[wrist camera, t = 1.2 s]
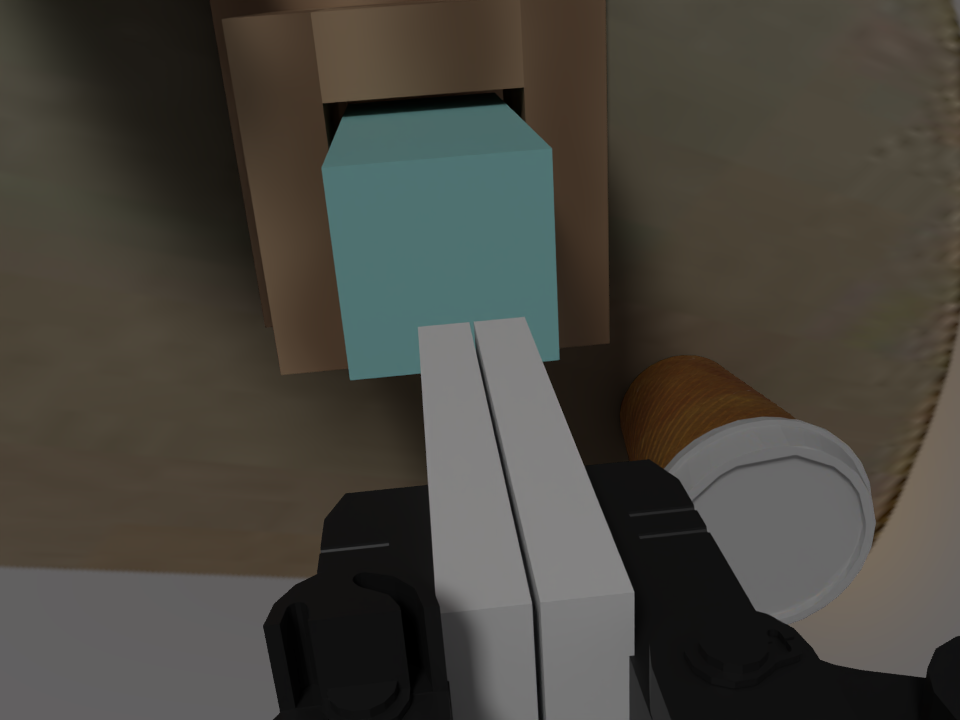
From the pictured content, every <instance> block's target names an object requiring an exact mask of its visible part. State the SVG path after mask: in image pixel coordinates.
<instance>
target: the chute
mask: <svg viewBox="0 0 960 720" xmlns="http://www.w3.org/2000/svg"><path fill="white" fill-rule="evenodd" d="M209 1H210V7H211V13H212V18H213V24H214V30H215V36H216V42H217V48H218V53H219V59H220V65H221V71H222V77H223V83H224V89H225V94H226V100H227V106H228V112H229V118H230V124H231V130H232V135H233V141H234V147H235V153H236V159H237V165H238V170H239V176H240V182H241V188H242V194H243V200H244V206H245V211H246V217H247V223H248V229H249V235H250V241H251V247H252V252H253V258H254V264H255V270H256V276H257V282H258V287H259V293H260V299H261V305H262V311H263V317H264V323H265V327H273V329H274V335H275V341H276V347H277V353H278V359H279V365H280V371H281V375H287V374H298V373H308V372H318V371H329V370H339V369H349V368H348V361H347V354H346V346H345V339H344V331H343V324H342V317H341V309H340V302H339V294H338V287H337V280H336V272H335V265H334V257H333V250H332V243H331V235H330V228H329V220H328V213H327V206H326V198H325V191H324V183H323V176H322V168H321V167H322V165H323V163H324V160H325V158H326V155H327V153H328V151H329V148H330V146H331V143H332V141H333V139H334V136H335V134H336V131H337V129H338V127H339V124H340V122H341V120H342V117H343V115H344V112H345V110H346V108H347V105H348V104H355V103H367V102H380V101H393V100H405V99H418V98H430V97H443V96H456V95H468V94H481V93H493V92H495V93H496V94H497V95H498V96H499V97H500V98H501V99H502V100H503V101H504V102H505V103H506V104H507V105H508V106H509V107H510V108H511V109H512V110H513V111H514V112H515V113H516V114H517V115H518V116H519V117H520V118H521V119H522V120H523V121H524V122H525V123H526V124H528V125H529V126H530V127H531V128H532V129H533V130H534V131H535V132H536V133H537V134H538V135H539V136H540V137H541V138H542V139H543V140H544V141H545V142H546V143H547V144H548V145H549V146H550V147H551V148H552V160H553V188H554V217H555V245H556V274H557V302H558V330H559V348H568V347H578V346H588V345H599V344H609V343H610V329H609V242H608V155H607V68H606V0H209Z"/></svg>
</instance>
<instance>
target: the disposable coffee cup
mask: <svg viewBox="0 0 960 720" xmlns="http://www.w3.org/2000/svg"><path fill="white" fill-rule="evenodd" d="M620 423H621V429H622V433H623V436H624V440H625V445H626V449H627V453H628V457H629V461H636V460H646V459H650V460H651V461H653V462H654V463H656V464H657V465H659V466H660V467H662V468H663V469H665V470H666V471H668V472H669V473H671V474H672V475H673V476H675V477H676V478H678V479H679V480H680V482H681V483H682V485H683V487H684V489H685V490H686V492H687V494H688V495H689V497H690V499H691V500H692V502H693V504H694V509H695V510H697V511H698V512H699V514H700V516H701V518H702V519H703V521H704V523H705V524H706V526H707V532H710V533H711V535H712V536H713V538H714V540H715V542H716V543H717V545H718V547H719V548H720V550H721V552H722V554H723V555H724V557H725V559H726V560H727V562H728V564H729V566H730V567H731V569H732V571H733V572H734V574H735V576H736V578H737V579H738V581H739V583H740V584H741V586H742V588H743V590H744V591H745V593H746V595H747V596H748V598H749V600H750V602H751V603H752V605H753V607H754V608H755V610H756V611H759V612H763V613H766V614H769V615H771V616H772V617H774V618H776V619H778V620H780V621H781V622H783V623H785V624H787V625H788V624H791V623H793V622H796V621H799V620H802V619H804V618H806V617H808V616H809V615H811V614H813V613H815V612H816V611H818V610H820V609H822V608H823V607H825V606H826V605H827V604H829V603H830V602H831V601H833V600H834V599H835V598H837V597H838V596H839V595H840V594H841V593H842V592H843V591H844V590H845V589H846V588H847V587H848V586H849V585H850V583H851V582H852V581H853V579H854V578H855V576H856V575H857V574H858V573H859V571H860V570H861V568H862V566H863V564H864V562H865V560H866V558H867V555H868V553H869V551H870V549H871V546H872V540H873V535H874V529H875V523H876V521H875V515H874V509H873V503H872V497H871V490H870V482H869V480H868V477H867V475H866V472H865V470H864V467H863V465H862V463H861V461H860V460H859V459H858V457H857V456H856V455H855V454H854V452H853V451H852V450H851V448H850V447H849V446H848V445H847V444H845V443H844V442H843V441H841V440H840V439H839V438H837V437H836V436H834V435H833V434H832V433H830V432H829V431H827V430H826V429H824V428H821V427H818V426H815V425H812V424H809V423H806V422H803V421H800V420H797V419H796V418H794V417H793V416H791V415H790V414H789V413H787V412H786V411H784V410H783V409H782V408H780V407H778V406H777V405H776V404H775V403H773V402H771V401H770V400H769V399H767V398H765V397H764V396H763V395H762V394H760V393H759V392H757V391H756V390H754V389H753V388H752V387H750V386H749V385H747V384H746V383H745V382H743V381H741V380H740V379H739V378H737V377H735V376H734V375H733V374H731V373H730V372H729V371H727V370H725V369H724V368H723V367H722V366H720V365H719V364H717V363H716V362H714V361H712V360H710V359H707V358H703V357H699V356H687V355H681V356H674V357H670V358H667V359H664V360H661V361H659V362H657V363H655V364H653V365H651V366H650V367H648V368H647V369H646V370H644V371H643V372H642V373H641V374H639V376H638V377H637V378H636V379H635V380H634V381H633V382H632V383H631V385H630V387H629V389H628V390H627V392H626V394H625V396H624V399H623V401H622V404H621V410H620Z"/></svg>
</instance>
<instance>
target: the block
mask: <svg viewBox="0 0 960 720" xmlns="http://www.w3.org/2000/svg"><path fill="white" fill-rule="evenodd" d="M321 168H322V176H323V183H324V191H325V198H326V206H327V213H328V220H329V228H330V235H331V243H332V250H333V257H334V265H335V272H336V280H337V287H338V294H339V302H340V309H341V317H342V324H343V331H344V339H345V346H346V354H347V361H348V368H349V376H350V380H358V379H369V378H379V377H389V376H400V375H410V374H420V373H421V367H420V352H419V337H418V327H422V326H432V325H443V324H454V323H465V322H469V324H470V328H471V333H472V337H473V341H474V346H475V333H474V322H475V321H486V320H497V319H507V318H518V317H525V319H526V322H527V324H528V327H529V329H530V332H531V334H532V337H533V339H534V342H535V344H536V347H537V349H538V352H539V354H540V357H541V359H542V362H544V361H554V360H560V359H559V330H558V302H557V274H556V245H555V217H554V188H553V160H552V148H551V147H550V146H549V145H548V144H547V143H546V142H545V141H544V140H543V139H542V138H541V137H540V136H539V135H538V134H537V133H536V132H535V131H534V130H533V129H532V128H531V127H530V126H529V125H528V124H526V123H525V122H524V121H523V120H522V119H521V118H520V117H519V116H518V115H517V114H516V113H515V112H514V111H513V110H512V109H511V108H510V107H509V106H508V105H507V104H506V103H505V102H504V101H503V100H502V99H501V98H500V97H499V96H498V95H497V94H496V93H495V92H493V93H481V94H468V95H456V96H443V97H430V98H418V99H405V100H393V101H380V102H367V103H355V104H348V105H347V108H346V110H345V112H344V115H343V117H342V120H341V122H340V124H339V127H338V129H337V131H336V134H335V136H334V139H333V141H332V143H331V146H330V148H329V151H328V153H327V155H326V158H325V160H324V163H323V165H322V167H321ZM475 350H476V347H475Z"/></svg>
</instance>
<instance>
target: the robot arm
mask: <svg viewBox="0 0 960 720" xmlns="http://www.w3.org/2000/svg"><path fill="white" fill-rule="evenodd" d="M474 333H475V346H474V341H473V337H472V333H471V328H470V324H469V322H465V323H454V324H443V325H432V326H422V327H418V337H419V352H420V367H421V382H422V398H423V413H424V428H425V443H426V458H427V474H428V485H423V486H414V487H404V488H394V489H384V490H375V491H365V492H355V493H346V494H345V495H344V496H343V497H342V498H341V500H340V501H339V502H338V503H337V505H336V506H335V507H334V508H333V510H332V511H331V512H330V513H329V514H328V516H327V517H326V518H325V519H324V526H323V533H322V541H321V554H320V555H319V563H318V570H317V575H315V576H312V577H310V578H308V579H306V580H304V581H302V582H300V583H298V584H296V585H295V586H293V587H292V588H291V589H290V590H289V591H288V592H287V593H286V594H285V595H283V596H282V597H281V598H280V599H279V600H278V601H277V602H276V603H275V604H274V605H273V607H272V609H271V611H270V613H269V615H268V617H267V619H266V621H265V623H264V625H263V628H264V633H265V638H266V643H267V648H268V653H269V658H270V663H271V668H272V673H273V678H274V683H275V688H276V693H277V698H278V703H279V708H280V713H279V715H277V717H275V718H274V719H273V720H960V636H957V637H955V638H953V639H951V640H950V641H948V642H946V643H945V644H943V645H941V646H940V647H938V648H936V650H935V652H934V654H933V657H932V659H931V662H930V664H929V666H928V669H927V675H926V678H922V677H913V676H905V675H897V674H889V673H881V672H873V671H864V670H858V669H853V668H848V667H842V666H838V665H833V664H830V663H828V662H825V661H822V660H820V659H819V658H818V656H817V654H816V653H815V652H814V650H813V648H812V647H811V646H810V645H809V644H808V643H807V642H806V641H805V640H804V639H803V638H802V637H801V635H800V634H799V633H798V632H797V631H796V630H795V629H794V628H792V627H790V626H789V625H787V624H785V623H783V622H781V621H780V620H778V619H776V618H774V617H772V616H771V615H769V614H766V613H763V612H759V611H756V610H755V608H754V607H753V605H752V603H751V602H750V600H749V598H748V596H747V595H746V593H745V591H744V590H743V588H742V586H741V584H740V583H739V581H738V579H737V578H736V576H735V574H734V572H733V571H732V569H731V567H730V566H729V564H728V562H727V560H726V559H725V557H724V555H723V554H722V552H721V550H720V548H719V547H718V545H717V543H716V542H715V540H714V538H713V536H712V535H711V533H710V532H707V526H706V524H705V523H704V521H703V519H702V518H701V516H700V514H699V512H698V511H697V510H695V509H694V504H693V502H692V500H691V499H690V497H689V495H688V494H687V492H686V490H685V489H684V487H683V485H682V483H681V482H680V480H679V479H678V478H676V477H675V476H673V475H672V474H671V473H669V472H668V471H666V470H665V469H663V468H662V467H660V466H659V465H657V464H656V463H654V462H653V461H651V460H650V459H646V460H636V461H626V462H617V463H607V464H597V465H588V466H584V464H583V462H582V459H581V457H580V454H579V452H578V449H577V447H576V444H575V442H574V439H573V437H572V434H571V432H570V429H569V427H568V424H567V422H566V419H565V417H564V414H563V412H562V409H561V407H560V404H559V402H558V399H557V397H556V394H555V392H554V389H553V387H552V384H551V382H550V379H549V377H548V374H547V372H546V369H545V367H544V364H543V362H542V359H541V357H540V354H539V352H538V349H537V347H536V344H535V342H534V339H533V337H532V334H531V332H530V329H529V327H528V324H527V322H526V319H525V317H518V318H507V319H497V320H486V321H475V322H474ZM475 347H476V350H475Z"/></svg>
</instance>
